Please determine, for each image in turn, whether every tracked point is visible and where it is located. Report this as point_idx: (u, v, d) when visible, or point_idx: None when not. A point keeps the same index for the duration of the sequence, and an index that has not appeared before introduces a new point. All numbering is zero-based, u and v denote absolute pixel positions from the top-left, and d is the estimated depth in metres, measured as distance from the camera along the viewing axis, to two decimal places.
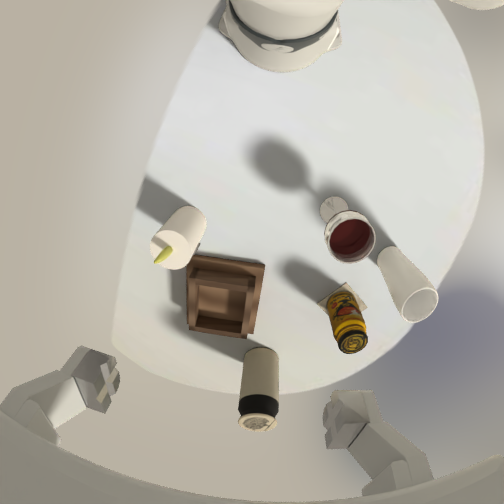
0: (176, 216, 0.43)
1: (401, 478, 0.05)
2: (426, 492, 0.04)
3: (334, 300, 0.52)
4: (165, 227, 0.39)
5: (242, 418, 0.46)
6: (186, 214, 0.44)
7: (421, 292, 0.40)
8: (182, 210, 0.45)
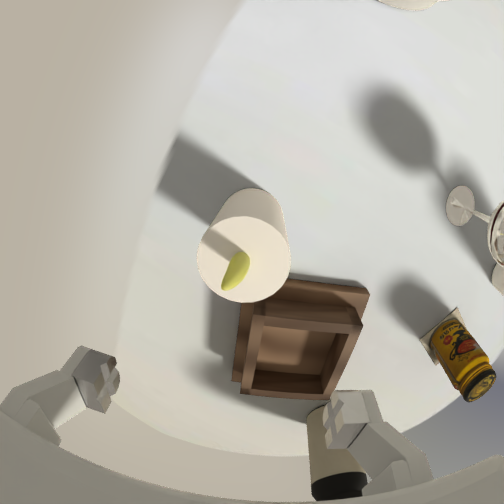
0: (243, 198, 0.23)
1: (401, 478, 0.05)
2: (426, 492, 0.04)
3: (446, 332, 0.31)
4: (233, 212, 0.19)
5: None
6: (260, 197, 0.24)
7: None
8: (247, 192, 0.25)
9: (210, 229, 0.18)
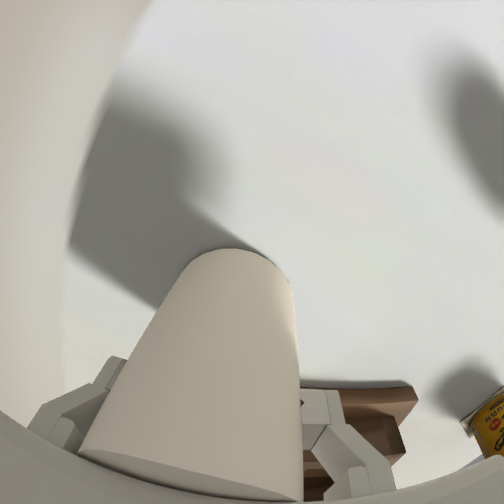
0: (197, 307, 0.09)
1: (358, 486, 0.05)
2: (426, 492, 0.04)
3: (493, 413, 0.17)
4: (140, 412, 0.05)
5: None
6: (242, 293, 0.10)
7: None
8: (217, 269, 0.12)
9: (86, 450, 0.04)
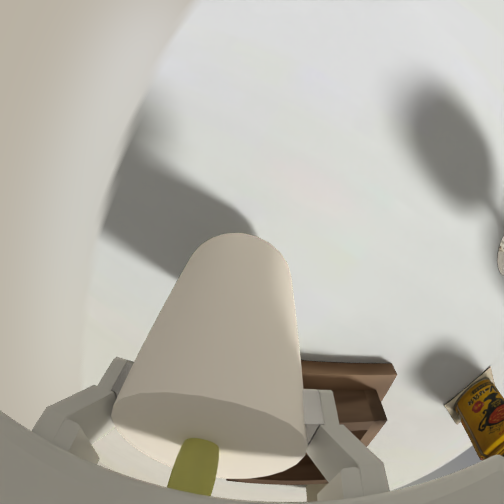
0: (212, 279, 0.11)
1: (350, 487, 0.05)
2: (426, 492, 0.04)
3: (475, 397, 0.21)
4: (174, 359, 0.07)
5: None
6: (249, 268, 0.12)
7: None
8: (226, 250, 0.13)
9: (124, 399, 0.06)
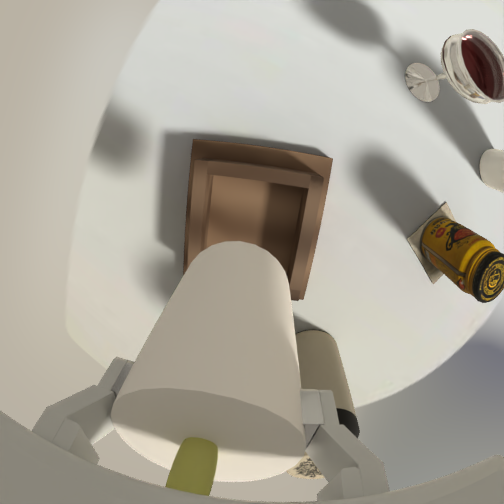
0: (211, 284, 0.11)
1: (351, 487, 0.05)
2: (426, 492, 0.04)
3: (437, 226, 0.27)
4: (174, 357, 0.07)
5: None
6: (248, 274, 0.12)
7: None
8: (225, 257, 0.14)
9: (124, 397, 0.06)
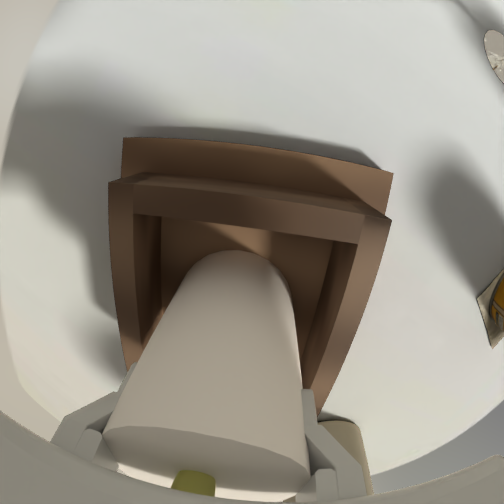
0: (207, 301, 0.10)
1: (325, 489, 0.05)
2: (426, 492, 0.04)
3: None
4: (164, 390, 0.06)
5: None
6: (246, 289, 0.11)
7: None
8: (222, 268, 0.13)
9: (111, 430, 0.05)
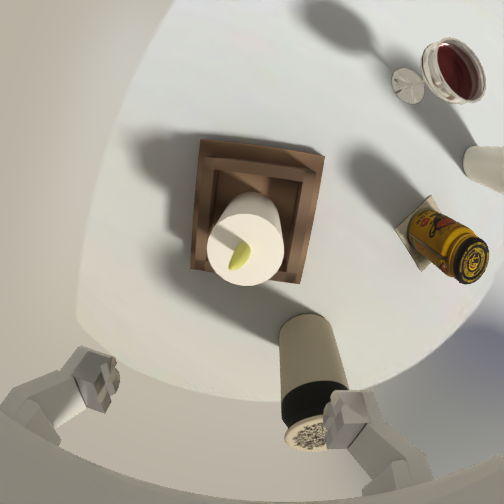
0: (244, 200, 0.27)
1: (401, 478, 0.05)
2: (426, 492, 0.04)
3: (422, 217, 0.31)
4: (237, 211, 0.23)
5: (295, 428, 0.23)
6: (259, 199, 0.28)
7: None
8: (248, 195, 0.30)
9: (218, 224, 0.22)
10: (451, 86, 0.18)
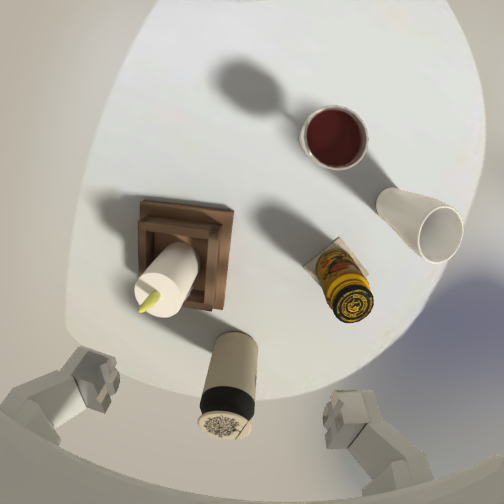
0: (165, 255, 0.37)
1: (401, 478, 0.05)
2: (426, 492, 0.04)
3: (325, 258, 0.40)
4: (151, 268, 0.33)
5: (202, 418, 0.33)
6: (177, 252, 0.38)
7: (438, 231, 0.29)
8: (172, 247, 0.39)
9: (139, 278, 0.32)
10: (333, 151, 0.28)
